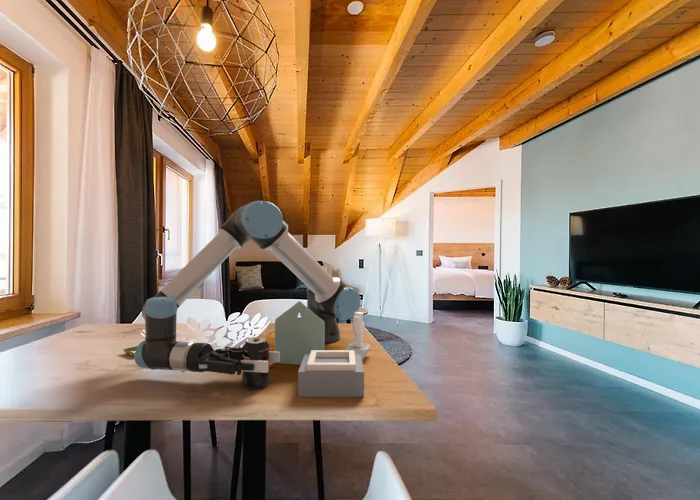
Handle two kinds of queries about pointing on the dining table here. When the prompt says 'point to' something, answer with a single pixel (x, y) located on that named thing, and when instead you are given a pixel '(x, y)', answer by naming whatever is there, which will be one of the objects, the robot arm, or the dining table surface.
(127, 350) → the green shallow square tray
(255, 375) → the beverage can
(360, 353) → the figurine
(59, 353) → the dining table surface
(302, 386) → the stand
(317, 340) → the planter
